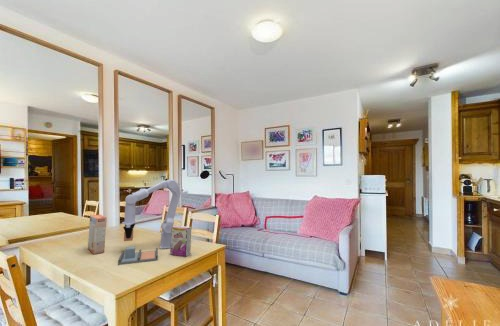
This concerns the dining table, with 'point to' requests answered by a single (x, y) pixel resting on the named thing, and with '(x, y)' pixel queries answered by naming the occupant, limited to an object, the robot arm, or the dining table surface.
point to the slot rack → (139, 257)
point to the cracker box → (97, 234)
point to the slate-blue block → (130, 252)
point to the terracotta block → (128, 238)
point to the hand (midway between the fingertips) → (128, 237)
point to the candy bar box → (180, 241)
